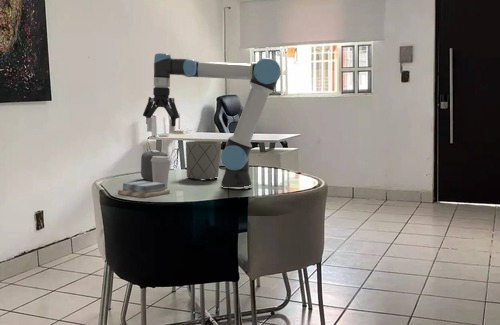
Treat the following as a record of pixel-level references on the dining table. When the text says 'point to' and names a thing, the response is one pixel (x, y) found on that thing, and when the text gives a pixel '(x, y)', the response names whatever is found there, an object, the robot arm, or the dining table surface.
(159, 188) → the pedestal
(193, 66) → the robot arm
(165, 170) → the coffee cup
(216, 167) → the planter
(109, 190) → the dining table surface
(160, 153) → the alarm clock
